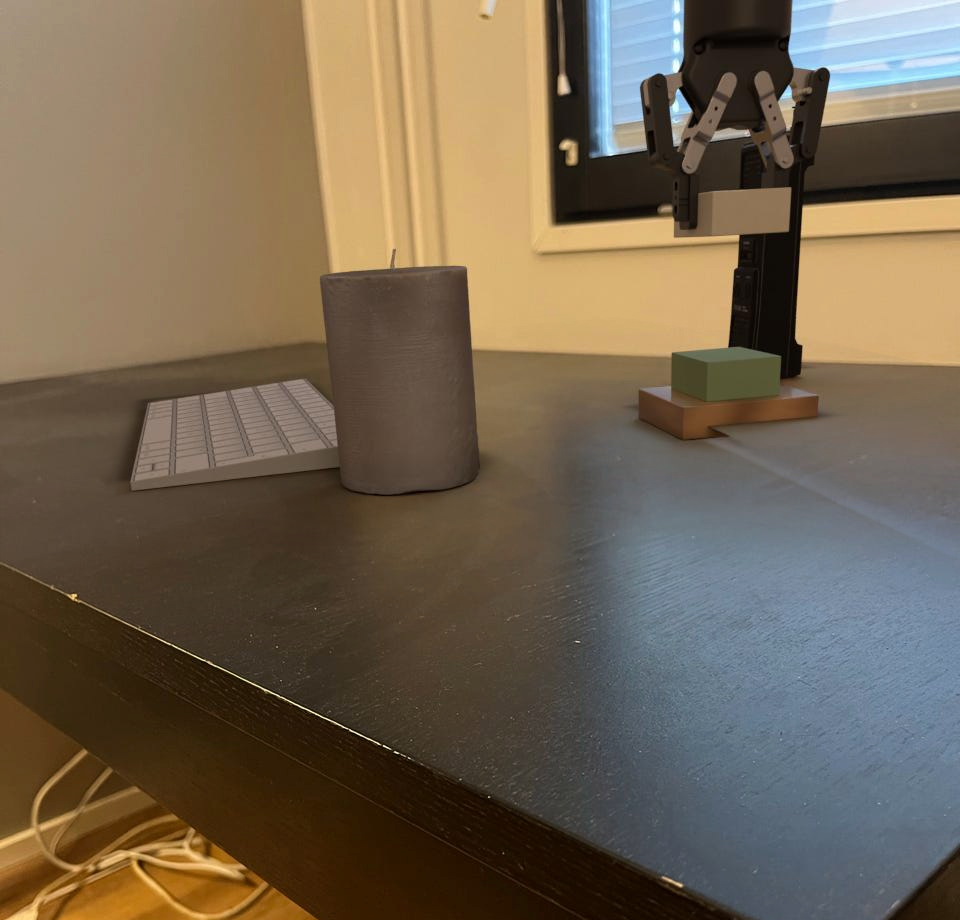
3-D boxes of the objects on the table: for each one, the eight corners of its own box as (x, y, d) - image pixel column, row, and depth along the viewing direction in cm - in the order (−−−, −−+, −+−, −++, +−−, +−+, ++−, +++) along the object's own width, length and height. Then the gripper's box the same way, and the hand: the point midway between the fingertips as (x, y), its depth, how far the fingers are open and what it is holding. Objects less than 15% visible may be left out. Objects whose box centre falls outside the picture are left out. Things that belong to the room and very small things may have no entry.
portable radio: (720, 372, 109) (728, 118, 99) (773, 368, 109) (786, 114, 100) (745, 381, 101) (757, 108, 92) (802, 377, 102) (819, 104, 92)
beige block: (744, 233, 80) (745, 193, 79) (789, 231, 72) (791, 187, 71) (673, 237, 79) (673, 196, 78) (711, 236, 72) (713, 191, 70)
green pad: (737, 382, 84) (739, 346, 83) (779, 395, 77) (781, 356, 76) (670, 388, 84) (671, 352, 82) (706, 402, 76) (707, 362, 75)
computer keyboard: (149, 408, 109) (146, 392, 108) (317, 392, 113) (315, 377, 112) (114, 492, 70) (110, 469, 70) (372, 464, 74) (370, 442, 74)
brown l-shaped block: (757, 406, 87) (759, 378, 86) (817, 427, 77) (819, 395, 76) (638, 417, 86) (638, 388, 85) (682, 440, 76) (683, 407, 75)
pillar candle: (401, 459, 75) (383, 248, 69) (507, 470, 70) (496, 242, 64) (311, 488, 68) (282, 255, 62) (421, 502, 62) (400, 248, 57)
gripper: (658, -45, 65) (655, 232, 71) (862, -49, 67) (841, 220, 73) (623, -16, 71) (624, 233, 78) (809, -21, 73) (795, 223, 80)
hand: (729, 226), depth 75 cm, fingers closed on beige block, 6 cm apart
